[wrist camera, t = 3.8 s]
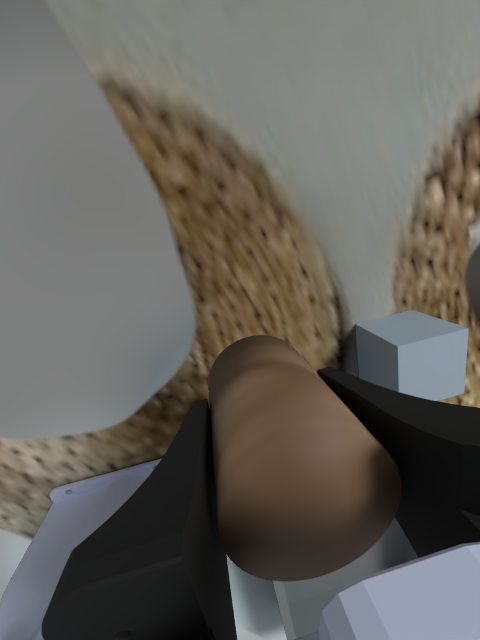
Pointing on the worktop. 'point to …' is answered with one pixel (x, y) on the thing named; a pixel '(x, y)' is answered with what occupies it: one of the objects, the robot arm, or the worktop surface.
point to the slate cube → (413, 354)
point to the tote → (337, 582)
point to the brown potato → (293, 466)
